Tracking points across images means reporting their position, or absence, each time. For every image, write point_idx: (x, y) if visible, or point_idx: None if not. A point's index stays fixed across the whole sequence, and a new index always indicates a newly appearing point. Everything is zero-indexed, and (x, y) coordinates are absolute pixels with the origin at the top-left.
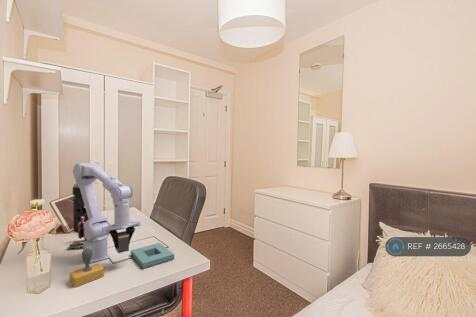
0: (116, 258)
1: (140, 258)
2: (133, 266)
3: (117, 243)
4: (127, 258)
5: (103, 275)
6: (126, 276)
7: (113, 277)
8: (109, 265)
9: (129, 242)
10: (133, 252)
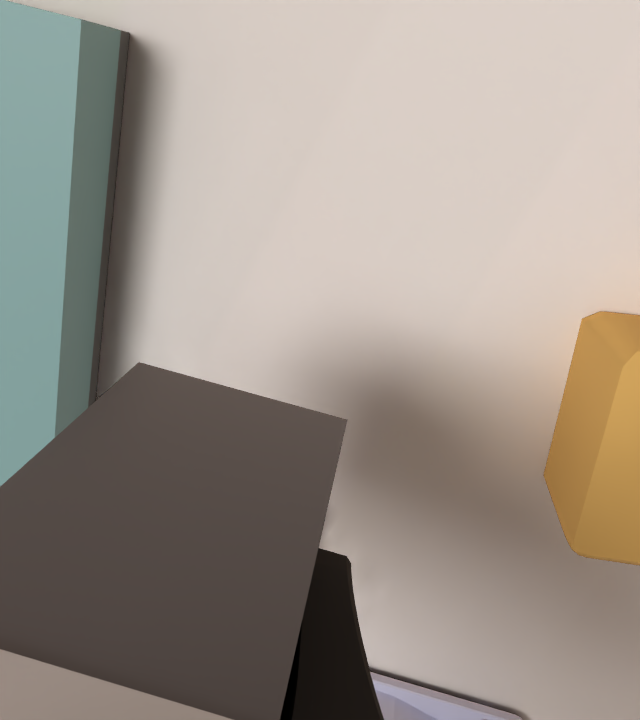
0: None
1: (41, 235)
2: (187, 239)
3: (307, 625)
4: None
5: (595, 318)
6: (399, 40)
7: (527, 178)
8: (376, 506)
9: None
10: None
